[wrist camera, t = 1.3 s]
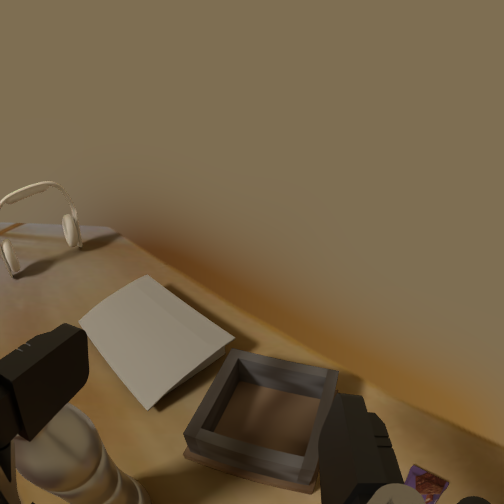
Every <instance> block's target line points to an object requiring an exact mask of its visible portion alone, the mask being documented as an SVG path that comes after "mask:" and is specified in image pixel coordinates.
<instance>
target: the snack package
mask: <svg viewBox="0 0 504 504" xmlns="http://www.w3.org/2000/svg"><path fill="white" fill-rule="evenodd" d="M404 485H407V486H410V487H412V488H414V489H415V490H417V491H418V492H419V493H420V494H421V495H422V497H423V499H424V501H425V504H436V502H437V500H438V499H439V497H440V495H441V494H442V493H443V491H444V490H445V489H446V488H447V487H448V485H449V482H447V481H444V480H442V479H441V478H439V477H437V476H434V475H432V474H430V473H428V472H427V471H425V470H423V469H420V468H418V467H416V466H414V465H413V466H412V467H411V469H410V471H409V474H408V477H407V479H406V481H405V483H404Z"/></svg>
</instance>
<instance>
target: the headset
mask: <svg viewBox="0 0 504 504" xmlns="http://www.w3.org/2000/svg"><path fill="white" fill-rule="evenodd" d="M49 186H53V187H56V188H58V189H59V190H60V191H61V192H62V193H63V194H64V196H65V197H66V199H67V200H68V202H69V204H70V206H71V209H72V216H73V218H72V216H71V215H69V214H66V215H64V216H63V219H62V222H63V230H64V234H65V237H66V240H67V243H68V245H69V246H70V247H76V246H77V245H78V246H79V247H83V245H82V239H81V233H80V228H79V222H78V216H77V212H76V208H75V205H74V204H73V202H72V200H71V198H70V196H69V194H68V193H67V192H66V190H65V189H64V188H63V187H62V186H61V185H59V184H58V183H56V182H52V181H44V182H39V183H35V184H32V185H29V186H26V187H24V188H21V189H19V190H16V191H14V192H12V193H11V194H8V195H7V196H6V197H4V198H3V199H2V200H1V201H0V209H1V207H2V206H3V204H4V203H7V204H13V203H16V202H18V201H20V200H22V199H24V198H27V197H29V196H32V195H34V194H37V193H41V192H44V191H46V190H47V189H48V187H49ZM2 247H3V250H2ZM2 247H1V245H0V254H1V257H2V259H3V261H4V263H5V265H6V268H7V270H8V272H9V274H10V276H11V278H12V277H13V275H12V273H11V269H12V270H13V271H14V272H18V271H19V270H20V264H19V261H18V258H17V256H16V253H15V251H14V248H13V246H12V244H11V242H10V240H9V239H5V240H3V242H2ZM3 251H4V252H3ZM10 267H11V268H10Z"/></svg>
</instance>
